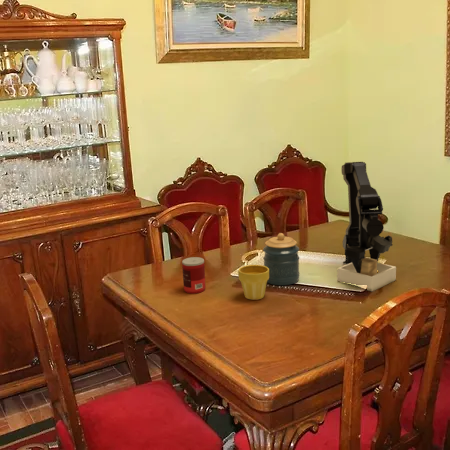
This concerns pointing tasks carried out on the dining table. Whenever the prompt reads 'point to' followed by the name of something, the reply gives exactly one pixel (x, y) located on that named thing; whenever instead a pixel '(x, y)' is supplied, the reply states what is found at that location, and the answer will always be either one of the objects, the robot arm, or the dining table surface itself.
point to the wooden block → (369, 267)
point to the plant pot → (254, 280)
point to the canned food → (193, 275)
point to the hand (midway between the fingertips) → (366, 270)
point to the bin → (374, 282)
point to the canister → (282, 260)
